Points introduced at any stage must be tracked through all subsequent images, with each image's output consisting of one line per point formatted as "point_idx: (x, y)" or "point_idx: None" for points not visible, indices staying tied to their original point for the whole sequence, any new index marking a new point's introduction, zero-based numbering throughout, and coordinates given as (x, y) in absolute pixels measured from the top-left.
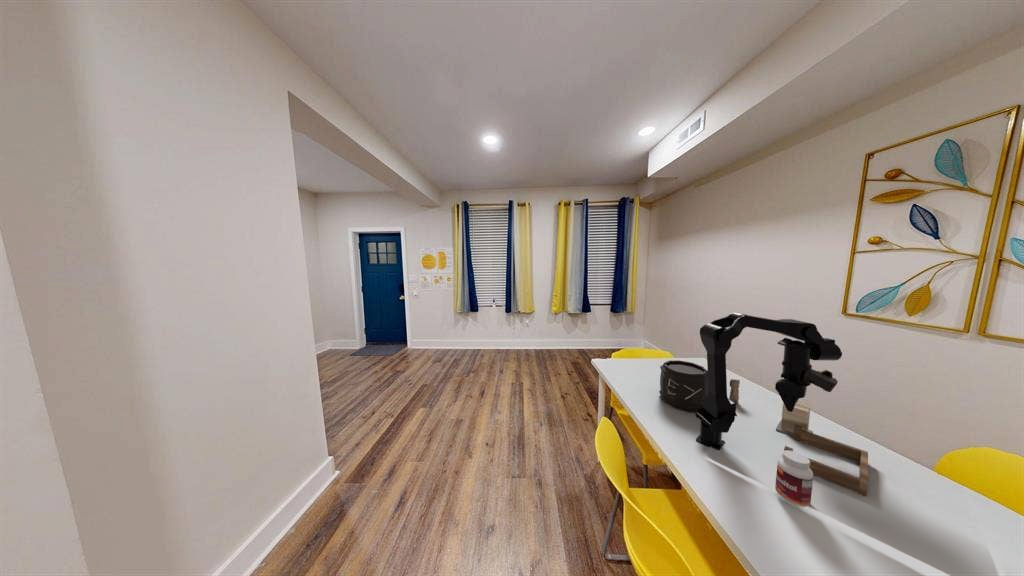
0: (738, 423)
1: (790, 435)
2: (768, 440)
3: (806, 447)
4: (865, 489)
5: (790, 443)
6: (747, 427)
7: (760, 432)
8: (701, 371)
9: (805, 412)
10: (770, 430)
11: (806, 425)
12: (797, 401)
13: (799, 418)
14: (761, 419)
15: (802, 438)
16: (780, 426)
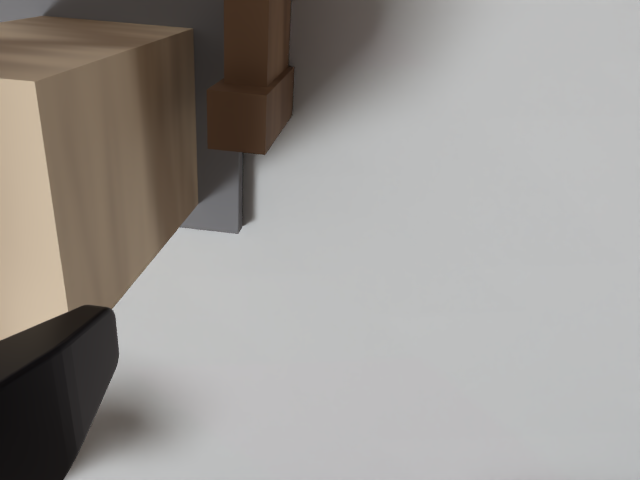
0: (353, 428)
1: None
2: (486, 263)
3: (377, 19)
4: None
5: (404, 129)
6: (371, 382)
7: (383, 311)
8: None
9: (55, 109)
10: (279, 257)
11: (143, 51)
12: (94, 314)
13: (121, 134)
14: (127, 314)
15: (282, 57)
16: None
